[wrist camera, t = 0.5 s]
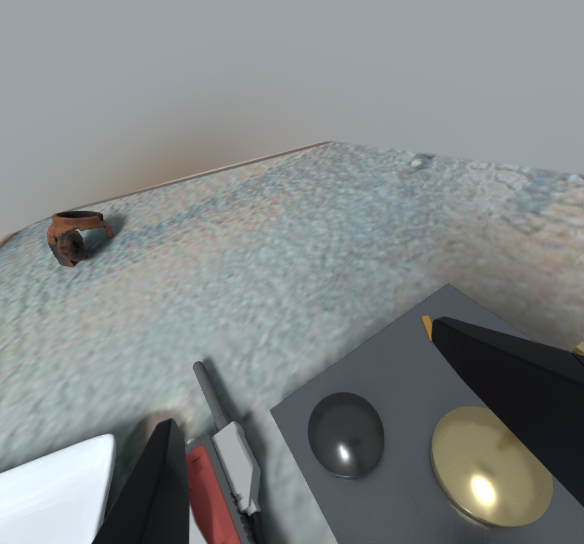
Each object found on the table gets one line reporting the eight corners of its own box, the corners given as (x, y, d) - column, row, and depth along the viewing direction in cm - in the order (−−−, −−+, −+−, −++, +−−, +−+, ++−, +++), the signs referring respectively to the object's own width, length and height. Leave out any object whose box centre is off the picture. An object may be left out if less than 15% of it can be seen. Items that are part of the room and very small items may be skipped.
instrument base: (824, 554, 15) (963, 557, 11) (557, 956, 11) (643, 1163, 7) (448, 293, 30) (457, 258, 26) (276, 417, 25) (258, 397, 22)
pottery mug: (60, 254, 55) (49, 209, 52) (118, 250, 59) (112, 209, 56) (41, 278, 45) (27, 225, 42) (113, 272, 49) (105, 223, 46)
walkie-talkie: (328, 600, 18) (211, 362, 31) (316, 612, 15) (191, 341, 28) (201, 731, 16) (133, 416, 29) (155, 776, 13) (103, 400, 26)
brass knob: (495, 555, 16) (530, 557, 12) (409, 448, 20) (415, 424, 16) (629, 418, 18) (697, 383, 14) (529, 348, 22) (559, 306, 18)
